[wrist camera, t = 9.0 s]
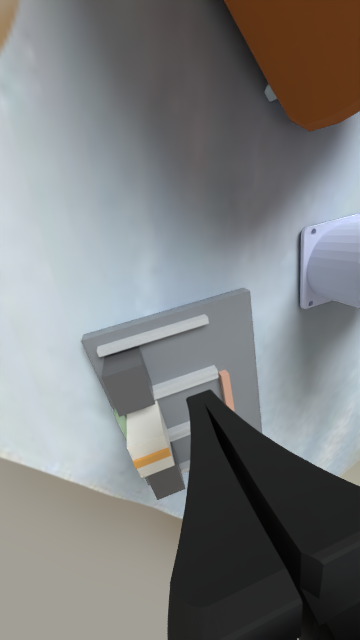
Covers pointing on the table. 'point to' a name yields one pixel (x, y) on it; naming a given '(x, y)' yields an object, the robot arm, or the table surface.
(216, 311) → the breaker board
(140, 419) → the handle
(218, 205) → the table surface
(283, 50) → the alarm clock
